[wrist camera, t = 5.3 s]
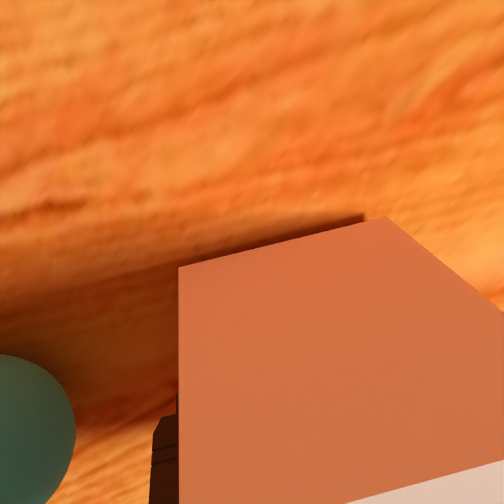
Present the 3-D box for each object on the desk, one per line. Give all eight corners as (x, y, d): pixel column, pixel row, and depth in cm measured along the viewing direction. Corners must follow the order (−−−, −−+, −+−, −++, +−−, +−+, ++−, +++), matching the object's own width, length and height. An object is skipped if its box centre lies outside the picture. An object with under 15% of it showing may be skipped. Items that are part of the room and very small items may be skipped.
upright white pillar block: (399, 380, 17) (588, 665, 9) (225, 426, 17) (269, 761, 9) (385, 216, 15) (638, 422, 7) (178, 267, 14) (179, 549, 6)
